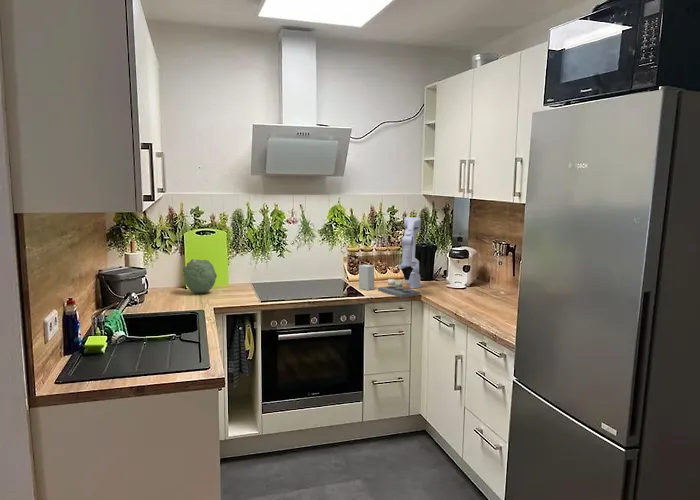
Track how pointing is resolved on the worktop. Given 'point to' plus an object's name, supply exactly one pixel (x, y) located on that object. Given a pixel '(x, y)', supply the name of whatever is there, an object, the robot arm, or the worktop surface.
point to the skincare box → (366, 277)
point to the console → (398, 291)
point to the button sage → (398, 284)
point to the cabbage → (199, 275)
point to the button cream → (391, 281)
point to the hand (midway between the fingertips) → (406, 279)
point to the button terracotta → (406, 286)
